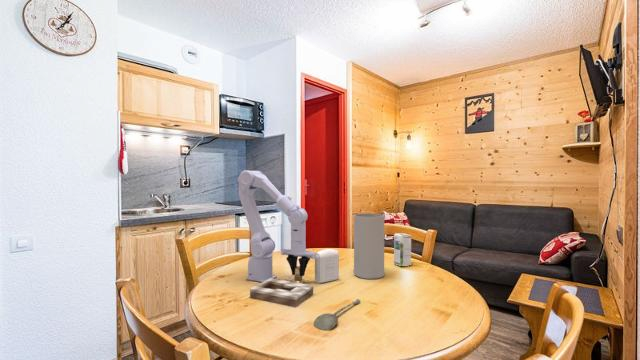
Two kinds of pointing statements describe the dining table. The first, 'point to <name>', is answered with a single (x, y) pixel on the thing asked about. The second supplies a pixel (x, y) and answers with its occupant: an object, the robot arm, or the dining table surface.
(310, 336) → the dining table surface
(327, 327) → the soupspoon
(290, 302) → the keyhole board
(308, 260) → the robot arm
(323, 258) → the photo printer
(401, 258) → the drink can
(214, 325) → the dining table surface
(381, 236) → the cylinder vase
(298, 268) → the brass key peg
